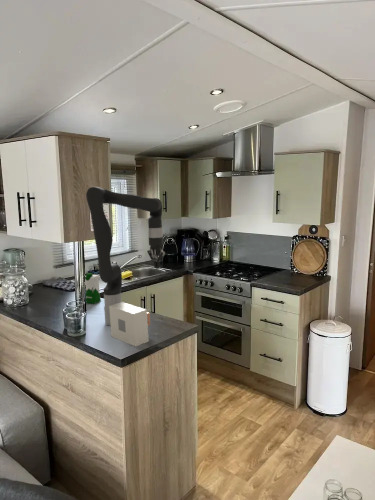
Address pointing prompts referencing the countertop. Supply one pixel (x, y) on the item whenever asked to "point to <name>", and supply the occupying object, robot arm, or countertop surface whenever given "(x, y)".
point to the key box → (129, 323)
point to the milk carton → (92, 288)
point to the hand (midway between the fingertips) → (157, 268)
